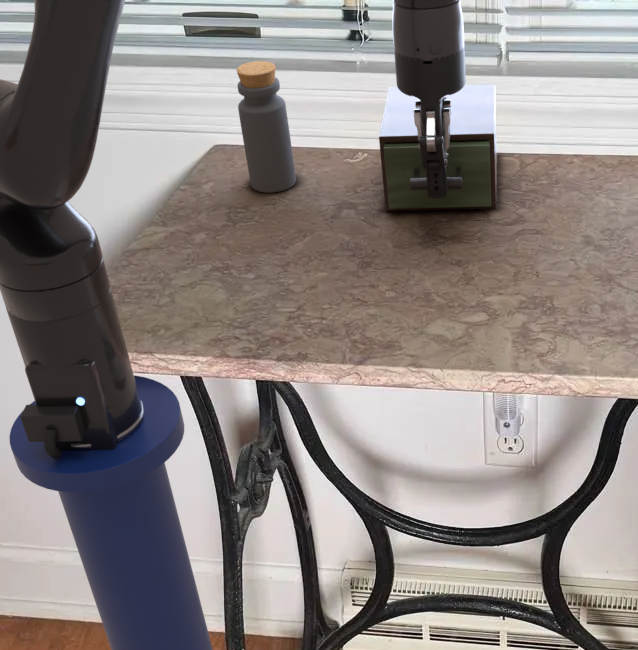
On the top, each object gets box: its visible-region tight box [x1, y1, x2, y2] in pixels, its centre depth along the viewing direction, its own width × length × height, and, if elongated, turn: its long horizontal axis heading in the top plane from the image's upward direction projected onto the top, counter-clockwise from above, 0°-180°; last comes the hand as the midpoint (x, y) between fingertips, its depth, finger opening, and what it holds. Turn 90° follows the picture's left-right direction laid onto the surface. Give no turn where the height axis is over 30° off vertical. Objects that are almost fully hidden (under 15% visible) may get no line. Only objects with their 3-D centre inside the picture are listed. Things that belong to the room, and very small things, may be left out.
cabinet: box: [378, 83, 498, 212], centre depth 148 cm, size 16×14×10 cm
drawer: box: [384, 140, 491, 209], centre depth 145 cm, size 19×12×8 cm, turn 179°
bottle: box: [236, 60, 297, 194], centre depth 148 cm, size 6×6×15 cm
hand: (437, 195), depth 137 cm, fingers closed
